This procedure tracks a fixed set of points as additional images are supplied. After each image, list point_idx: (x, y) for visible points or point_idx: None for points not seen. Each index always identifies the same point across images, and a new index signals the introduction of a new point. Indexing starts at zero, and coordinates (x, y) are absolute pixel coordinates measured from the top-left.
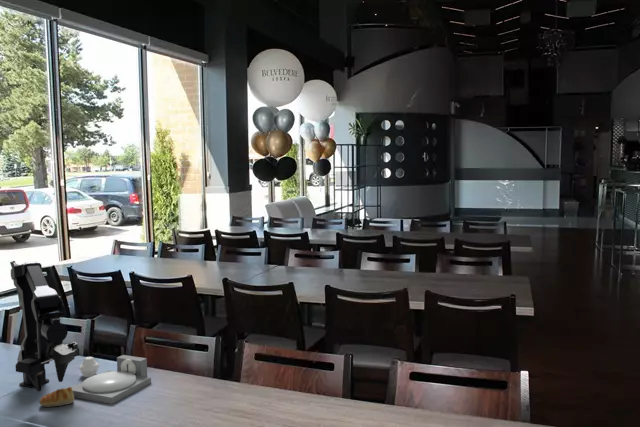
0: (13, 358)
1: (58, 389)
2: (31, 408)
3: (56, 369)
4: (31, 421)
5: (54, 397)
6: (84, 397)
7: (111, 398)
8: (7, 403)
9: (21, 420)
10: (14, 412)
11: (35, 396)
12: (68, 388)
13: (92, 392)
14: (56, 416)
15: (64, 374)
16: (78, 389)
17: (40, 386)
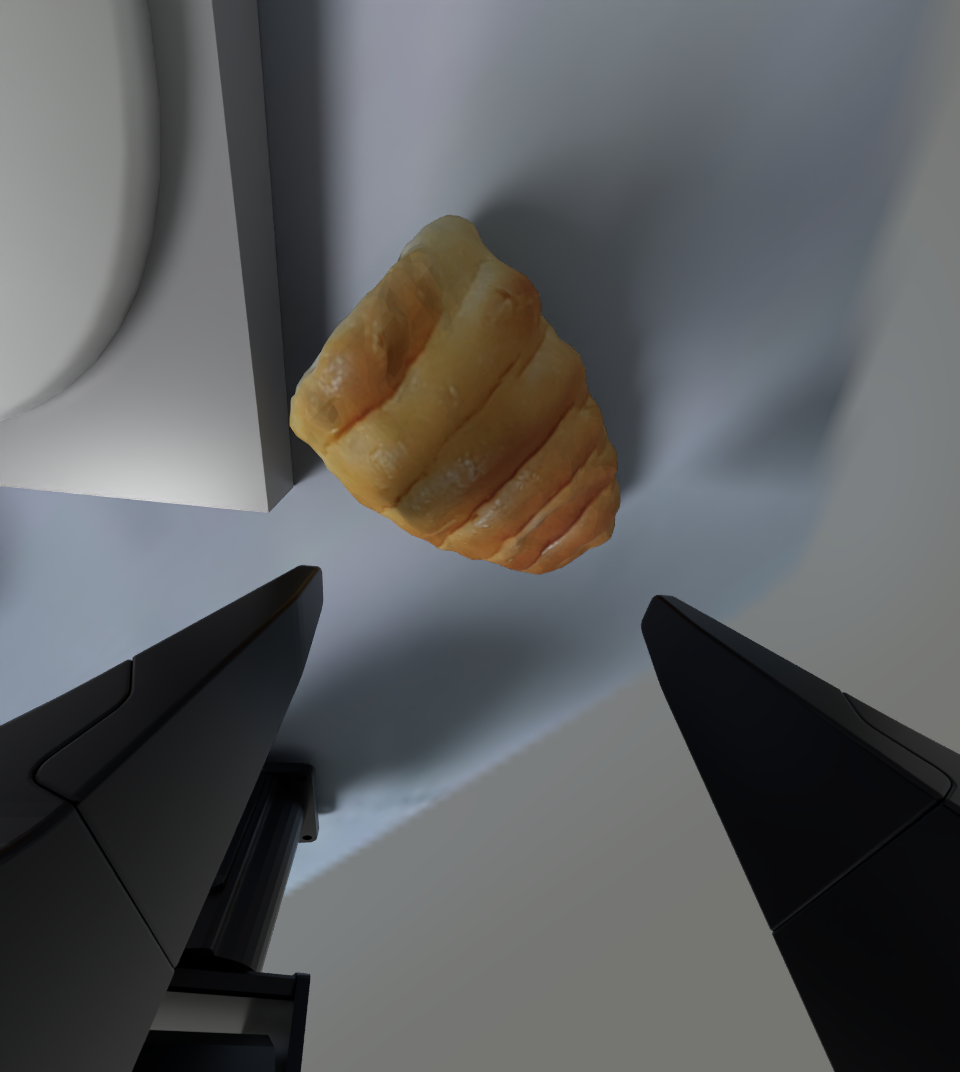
0: None
1: (426, 506)
2: (595, 568)
3: (237, 815)
4: (849, 393)
5: (593, 419)
6: (262, 189)
7: None
8: (537, 730)
9: (809, 486)
10: None
11: (401, 677)
12: (389, 361)
13: None
14: (777, 206)
15: (212, 614)
16: (190, 362)
17: (708, 627)
